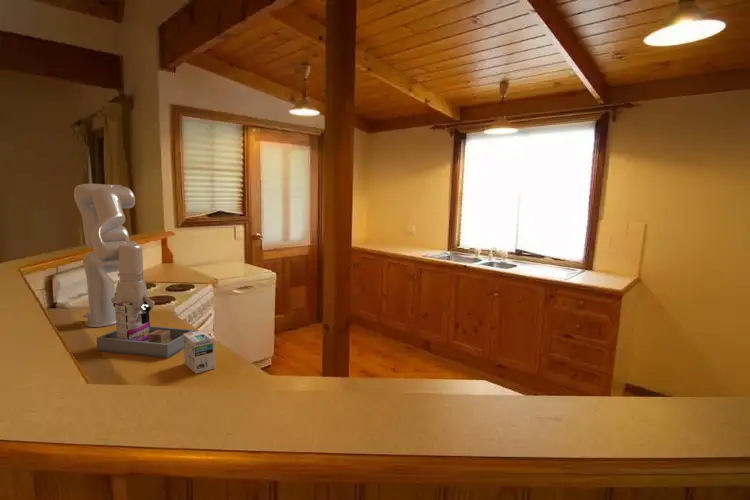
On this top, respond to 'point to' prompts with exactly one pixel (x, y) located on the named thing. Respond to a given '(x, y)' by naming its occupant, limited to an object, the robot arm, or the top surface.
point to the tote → (144, 344)
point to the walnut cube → (160, 336)
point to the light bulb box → (199, 351)
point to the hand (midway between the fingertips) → (133, 321)
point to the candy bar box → (130, 323)
